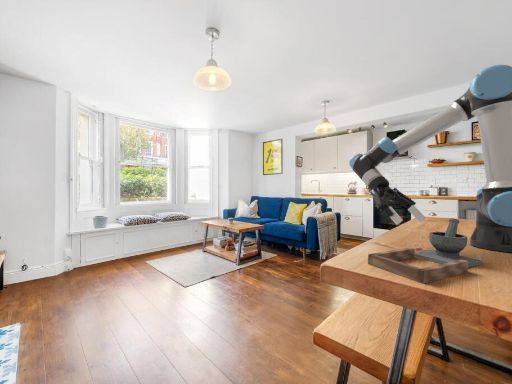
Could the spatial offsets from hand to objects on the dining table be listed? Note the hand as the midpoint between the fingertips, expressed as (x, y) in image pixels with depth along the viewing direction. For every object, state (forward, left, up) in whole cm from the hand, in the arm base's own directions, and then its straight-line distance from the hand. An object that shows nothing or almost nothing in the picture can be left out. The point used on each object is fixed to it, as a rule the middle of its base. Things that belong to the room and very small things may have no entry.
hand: (411, 221), depth 89 cm
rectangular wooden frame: (+18, +13, -11) cm, 25 cm away
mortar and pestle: (-1, +11, -10) cm, 15 cm away
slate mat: (+1, +12, -11) cm, 16 cm away
